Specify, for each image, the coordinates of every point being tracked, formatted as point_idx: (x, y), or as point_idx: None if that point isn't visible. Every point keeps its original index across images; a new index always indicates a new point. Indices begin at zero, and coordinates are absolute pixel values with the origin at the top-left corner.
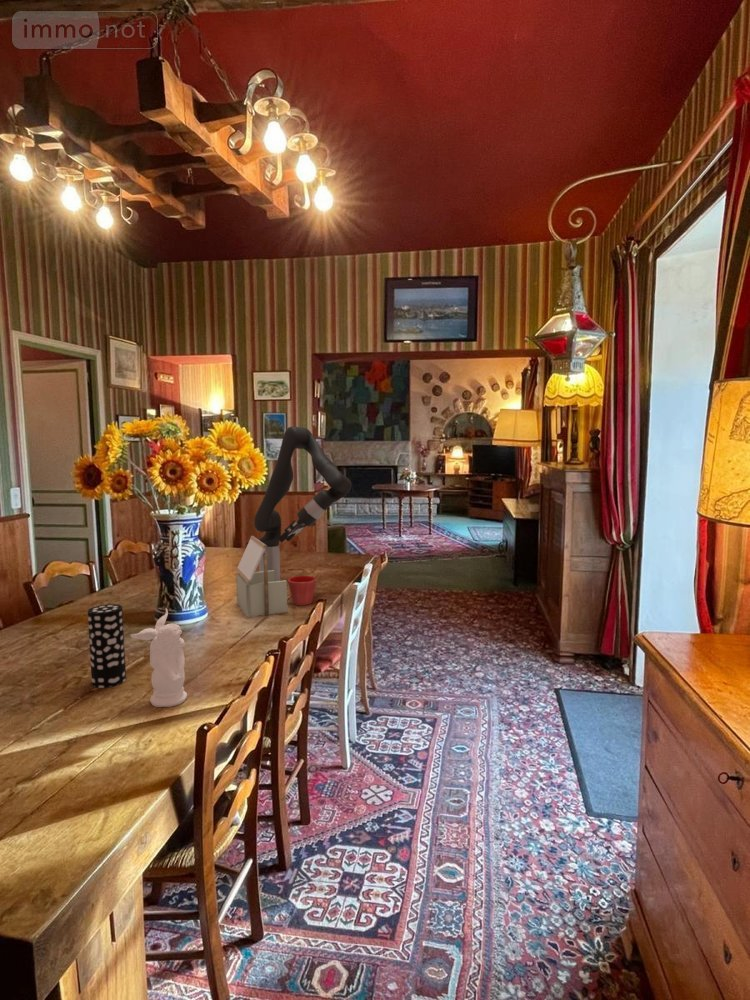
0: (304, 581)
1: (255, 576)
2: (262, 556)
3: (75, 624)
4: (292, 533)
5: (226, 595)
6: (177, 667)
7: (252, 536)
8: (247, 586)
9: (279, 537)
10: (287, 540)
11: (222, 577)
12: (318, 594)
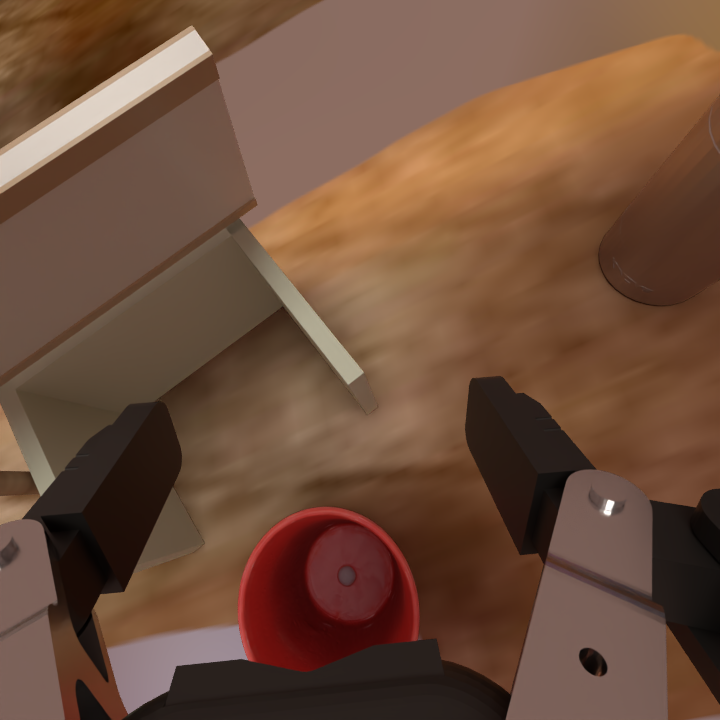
0: (404, 587)
1: (285, 305)
2: (693, 136)
3: (58, 22)
4: (121, 701)
5: (384, 198)
6: None
7: (133, 64)
8: (1, 392)
9: (120, 417)
10: (467, 425)
11: (646, 43)
12: (518, 609)
